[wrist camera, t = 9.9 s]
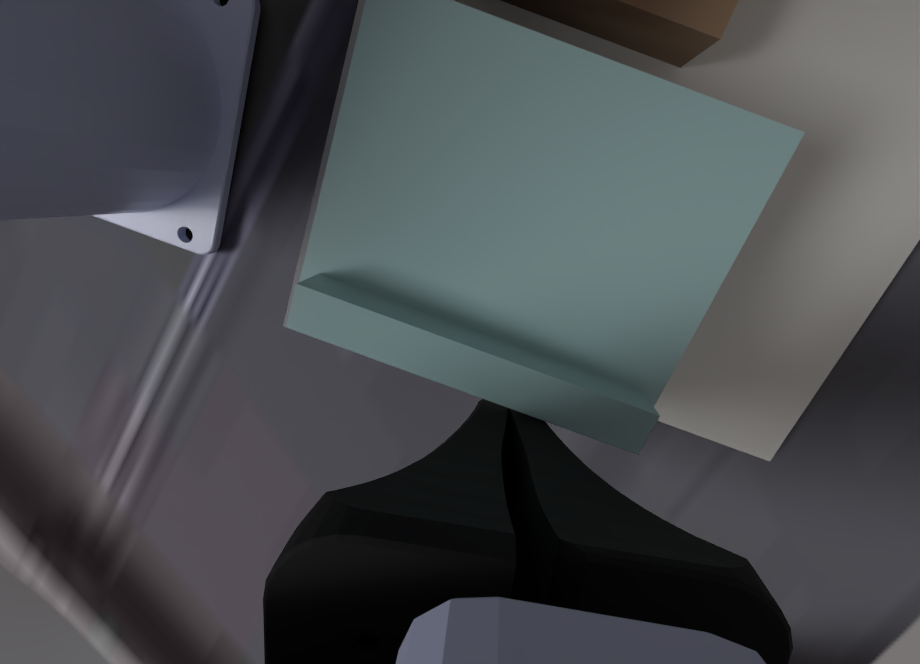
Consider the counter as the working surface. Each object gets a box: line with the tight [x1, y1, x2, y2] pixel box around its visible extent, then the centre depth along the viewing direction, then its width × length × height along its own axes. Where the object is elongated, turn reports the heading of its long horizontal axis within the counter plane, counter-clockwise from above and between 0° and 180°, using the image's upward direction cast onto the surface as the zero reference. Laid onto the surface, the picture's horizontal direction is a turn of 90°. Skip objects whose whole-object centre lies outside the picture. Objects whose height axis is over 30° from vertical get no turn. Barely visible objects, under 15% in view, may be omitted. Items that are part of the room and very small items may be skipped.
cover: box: [286, 0, 805, 455], centre depth 9 cm, size 9×7×2 cm
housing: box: [283, 0, 920, 461], centre depth 11 cm, size 16×16×4 cm
